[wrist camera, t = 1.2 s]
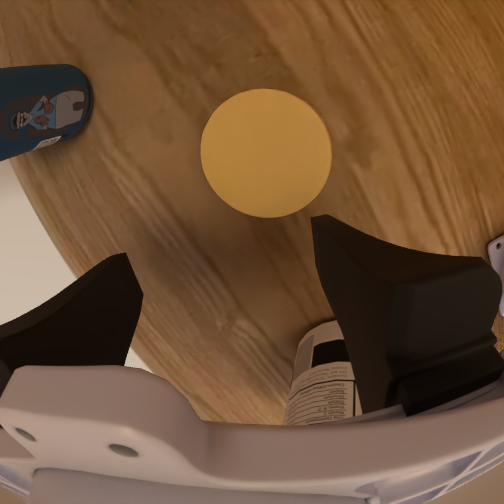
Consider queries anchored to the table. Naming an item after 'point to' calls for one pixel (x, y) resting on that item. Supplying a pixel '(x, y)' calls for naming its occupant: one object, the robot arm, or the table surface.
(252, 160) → the lid
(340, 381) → the supplement can
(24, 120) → the soda can
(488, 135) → the table surface
